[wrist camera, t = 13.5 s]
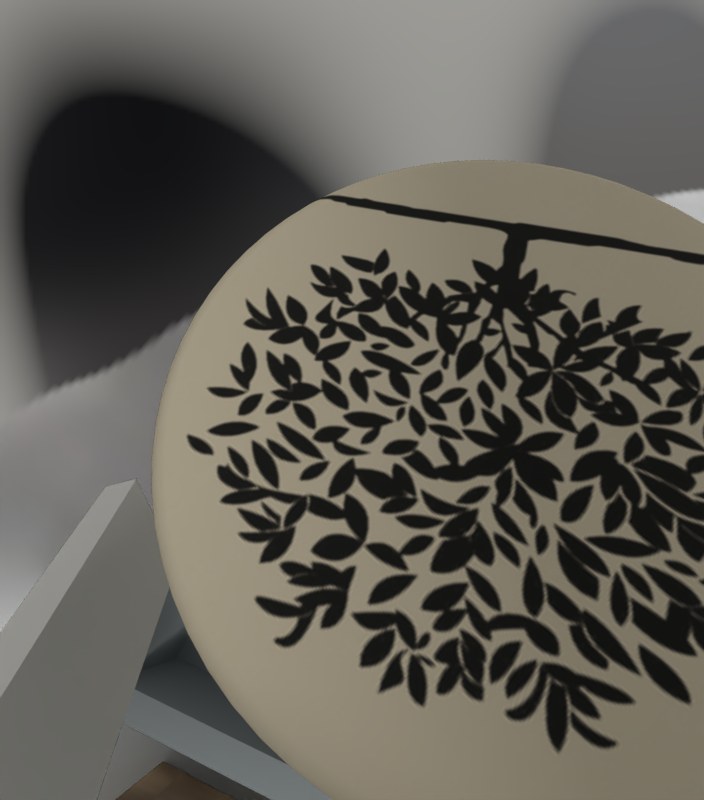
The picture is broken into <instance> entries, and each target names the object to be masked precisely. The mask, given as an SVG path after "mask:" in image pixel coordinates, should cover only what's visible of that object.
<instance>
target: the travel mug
mask: <svg viewBox="0 0 704 800" xmlns="http://www.w3.org/2000/svg"><path fill="white" fill-rule="evenodd" d="M152 500H153V511H154V522H155V529H156V534H157V539H158V544H159V550H160V555H161V560H162V563H163V567H164V570H165V573H166V577H167V580H168V583H169V587H170V590H171V593H172V597H173V599H174V601H175V604H176V606H177V609H178V611H179V613H180V616H181V618H182V621H183V623H184V625H185V628H186V630H187V633H188V635H189V636H190V638H191V640H192V642H193V644H194V646H195V647H196V649H197V651H198V653H199V655H200V657H201V659H202V660H203V662H204V664H205V666H206V668H207V669H208V671H209V672H210V674H211V675H212V677H213V678H214V680H215V681H216V683H217V684H218V686H219V687H220V688H221V690H222V691H223V693H224V694H225V696H226V697H227V699H228V700H229V702H230V703H231V704H232V706H233V707H234V708H235V709H236V710H237V712H238V713H239V714H240V715H241V716H242V717H243V719H244V720H245V721H246V722H247V723H248V724H249V726H250V727H251V728H252V729H253V730H254V732H255V733H256V734H257V735H258V736H259V737H260V738H261V739H262V740H263V741H264V742H265V743H266V744H267V745H268V746H269V747H270V748H271V749H272V750H273V751H274V752H275V753H276V754H277V755H278V756H279V757H281V758H282V759H283V760H284V761H285V762H286V763H287V764H288V765H289V766H290V767H291V768H292V769H293V770H294V771H296V772H297V773H298V774H300V775H301V776H302V777H304V778H305V779H306V780H307V781H309V782H310V783H311V784H313V785H314V786H315V787H317V788H318V789H319V790H321V791H322V792H323V793H324V794H326V795H327V796H328V797H330V798H331V799H333V800H704V224H703V223H701V222H700V221H698V220H696V219H694V218H692V217H691V216H689V215H687V214H685V213H684V212H682V211H680V210H678V209H677V208H675V207H672V206H670V205H668V204H666V203H664V202H662V201H660V200H658V199H656V198H654V197H652V196H649V195H647V194H644V193H642V192H639V191H637V190H634V189H632V188H629V187H627V186H624V185H622V184H619V183H616V182H613V181H609V180H606V179H603V178H600V177H596V176H594V175H589V174H585V173H581V172H577V171H573V170H569V169H564V168H559V167H553V166H547V165H542V164H534V163H524V162H515V161H494V160H472V161H453V162H444V163H434V164H427V165H421V166H416V167H410V168H405V169H401V170H397V171H393V172H389V173H385V174H381V175H378V176H375V177H372V178H369V179H366V180H363V181H360V182H357V183H354V184H352V185H349V186H347V187H345V188H342V189H340V190H337V191H335V192H333V193H331V194H329V195H327V196H325V197H323V198H321V199H319V200H317V201H315V202H313V203H311V204H309V205H308V206H306V207H304V208H303V209H301V210H300V211H298V212H296V213H295V214H293V215H291V216H290V217H288V218H287V219H285V220H284V221H283V222H281V223H280V224H279V225H277V226H276V227H274V228H273V229H272V230H270V231H269V232H268V233H266V234H265V235H264V236H263V237H262V238H261V239H259V240H258V241H257V242H256V243H255V244H254V245H253V246H252V247H250V248H249V249H248V250H247V251H246V252H245V253H244V254H243V255H242V256H241V257H240V258H239V259H238V260H237V261H236V262H235V263H234V264H233V265H232V267H231V268H230V269H229V270H228V271H227V272H226V273H225V274H224V276H223V277H222V278H221V279H220V281H219V282H218V283H217V284H216V286H215V287H214V288H213V289H212V291H211V292H210V294H209V295H208V297H207V298H206V300H205V301H204V303H203V304H202V306H201V307H200V309H199V310H198V312H197V313H196V315H195V316H194V318H193V320H192V322H191V324H190V326H189V328H188V329H187V331H186V333H185V335H184V337H183V339H182V341H181V343H180V346H179V348H178V350H177V353H176V355H175V357H174V360H173V362H172V365H171V367H170V370H169V373H168V377H167V380H166V383H165V386H164V389H163V393H162V396H161V401H160V406H159V410H158V415H157V420H156V425H155V433H154V443H153V452H152Z"/></svg>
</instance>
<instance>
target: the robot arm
mask: <svg viewBox="0 0 704 800" xmlns="http://www.w3.org/2000/svg"><path fill="white" fill-rule="evenodd" d="M168 590H169V583H168V580H167V577H166V573H165V570H164V567H163V563H162V560H161V555H160V550H159V544H158V539H157V534H156V529H155V522H154V514H153V512H152V510H151V508H150V506H149V504H148V502H147V500H146V497H145V495H144V493H143V491H142V489H141V487H140V485H139V483H138V481H137V479H133V480H130V481H126V482H122V483H118V484H114V485H110V486H106V487H105V488H104V490H103V491H102V493H101V494H100V495H99V497H98V498H97V499H96V501H95V502H94V504H93V505H92V506H91V508H90V509H89V511H88V512H87V513H86V515H85V516H84V518H83V519H82V520H81V522H80V523H79V524H78V526H77V527H76V529H75V530H74V531H73V533H72V534H71V536H70V537H69V538H68V540H67V541H66V542H65V544H64V545H63V547H62V548H61V549H60V551H59V552H58V554H57V555H56V556H55V558H54V559H53V561H52V562H51V563H50V565H49V566H48V567H47V569H46V570H45V572H44V573H43V574H42V576H41V577H40V579H39V580H38V581H37V583H36V584H35V586H34V587H33V588H32V590H31V591H30V592H29V594H28V595H27V597H26V598H25V599H24V601H23V602H22V604H21V605H20V606H19V608H18V609H17V611H16V612H15V613H14V615H13V616H12V617H11V619H10V620H9V622H8V623H7V624H6V626H5V627H4V629H3V630H2V631H1V633H0V800H97V797H98V795H99V792H100V789H101V786H102V783H103V780H104V777H105V774H106V771H107V768H108V765H109V762H110V760H111V757H112V754H113V751H114V748H115V745H116V742H117V739H118V736H119V733H120V730H121V727H122V725H123V722H124V719H125V716H126V713H127V710H128V707H129V704H130V701H131V698H132V695H133V692H134V689H135V687H136V684H137V681H138V678H139V675H140V672H141V669H142V666H143V663H144V660H145V657H146V654H147V652H148V649H149V646H150V643H151V640H152V637H153V634H154V631H155V628H156V625H157V622H158V619H159V616H160V614H161V611H162V608H163V605H164V602H165V599H166V596H167V593H168Z"/></svg>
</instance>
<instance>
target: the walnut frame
mask: <svg viewBox="0 0 704 800" xmlns="http://www.w3.org/2000/svg"><path fill="white" fill-rule="evenodd" d="M116 800H236V799H234V798H232V797H230V796H228V795H226V794H224V793H222V792H220V791H218V790H216V789H215V788H213V787H211V786H209V785H207V784H205V783H203V782H201V781H199V780H197V779H195V778H193V777H191V776H190V775H188V774H186V773H184V772H182V771H180V770H178V769H176V768H174V767H172V766H170V765H168V764H167V763H165V762H162V763H161V764H159V765H158V766H157V767H156V768H154V769H153V770H152V771H151V772H149V773H148V774H147V775H146V776H144V777H143V778H142V779H141V780H139V781H138V782H137V783H136V784H134V785H133V786H132V787H131V788H129V789H128V790H127V791H126V792H124V793H123V794H122V795H121V796H119V797H118V798H117V799H116Z"/></svg>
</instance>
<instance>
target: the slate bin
mask: <svg viewBox="0 0 704 800" xmlns="http://www.w3.org/2000/svg"><path fill="white" fill-rule="evenodd" d="M123 724H124V725H126V726H128V727H130V728H132V729H134V730H136V731H138V732H140V733H142V734H144V735H146V736H148V737H150V738H152V739H154V740H156V741H158V742H160V743H161V744H163V745H165V746H167V747H169V748H171V749H173V750H175V751H177V752H179V753H181V754H183V755H185V756H187V757H189V758H191V759H193V760H195V761H197V762H199V763H200V764H202V765H204V766H206V767H208V768H210V769H212V770H214V771H216V772H218V773H220V774H222V775H224V776H226V777H228V778H230V779H232V780H234V781H236V782H238V783H239V784H241V785H243V786H245V787H247V788H249V789H251V790H253V791H255V792H257V793H259V794H261V795H263V796H265V797H267V798H269V799H271V800H333V799H331V798H330V797H328V796H327V795H326V794H324V793H323V792H322V791H321V790H319V789H318V788H317V787H315V786H314V785H313V784H311V783H310V782H309V781H307V780H306V779H305V778H304V777H302V776H301V775H300V774H298V773H297V772H296V771H294V770H293V769H292V768H291V767H290V766H289V765H288V764H287V763H286V762H285V761H284V760H283V759H282V758H281V757H279V756H278V755H277V754H276V753H275V752H274V751H273V750H272V749H271V748H270V747H269V746H268V745H267V744H266V743H265V742H264V741H263V740H262V739H261V738H260V737H259V736H258V735H257V734H256V733H255V732H254V730H253V729H252V728H251V727H250V726H249V724H248V723H247V722H246V721H245V720H244V719H243V717H242V716H241V715H240V714H239V713H238V712H237V710H236V709H235V708H234V707H233V706H232V704H231V703H230V702H229V700H228V699H227V697H226V696H225V694H224V693H223V691H222V690H221V688H220V687H219V686H218V684H217V683H216V681H215V680H214V678H213V677H212V675H211V674H210V672H209V671H208V669H207V668H206V666H205V664H204V662H203V660H202V659H201V657H200V655H199V653H198V651H197V649H196V647H195V646H194V644H193V642H192V640H191V638H190V636H189V635H188V633H187V630H186V628H185V625H184V623H183V621H182V618H181V616H180V613H179V611H178V609H177V606H176V604H175V601H174V599H173V597H172V593H171V590H170V587H169V590H168V593H167V596H166V599H165V602H164V605H163V608H162V611H161V614H160V616H159V619H158V622H157V625H156V628H155V631H154V634H153V637H152V640H151V643H150V646H149V649H148V652H147V654H146V657H145V660H144V663H143V666H142V669H141V672H140V675H139V678H138V681H137V684H136V687H135V689H134V692H133V695H132V698H131V701H130V704H129V707H128V710H127V713H126V716H125V719H124V722H123Z"/></svg>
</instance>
